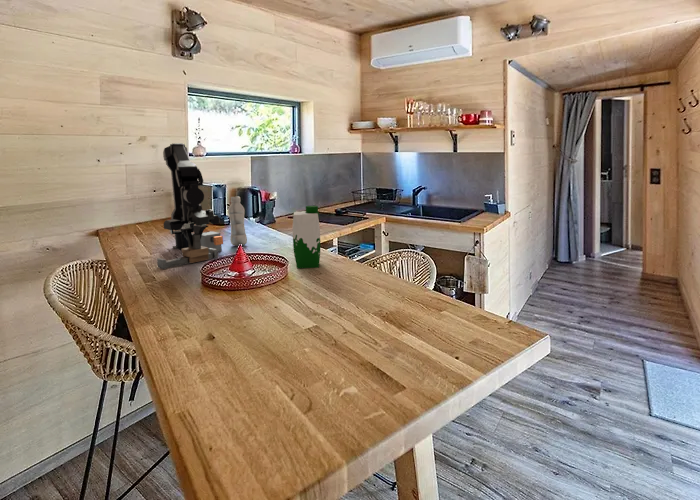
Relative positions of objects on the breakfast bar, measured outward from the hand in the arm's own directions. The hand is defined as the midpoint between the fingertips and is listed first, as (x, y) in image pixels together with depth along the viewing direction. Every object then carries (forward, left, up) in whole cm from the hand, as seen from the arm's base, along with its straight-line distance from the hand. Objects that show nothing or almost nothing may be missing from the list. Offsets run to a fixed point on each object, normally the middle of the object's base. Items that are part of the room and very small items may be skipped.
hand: (194, 246), depth 166 cm
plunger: (-7, +12, -2) cm, 14 cm away
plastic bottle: (-10, +25, -6) cm, 28 cm away
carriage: (0, 0, -6) cm, 6 cm away
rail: (0, -3, -6) cm, 6 cm away
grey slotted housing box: (-11, +12, -6) cm, 17 cm away
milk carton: (+37, +20, -6) cm, 43 cm away
